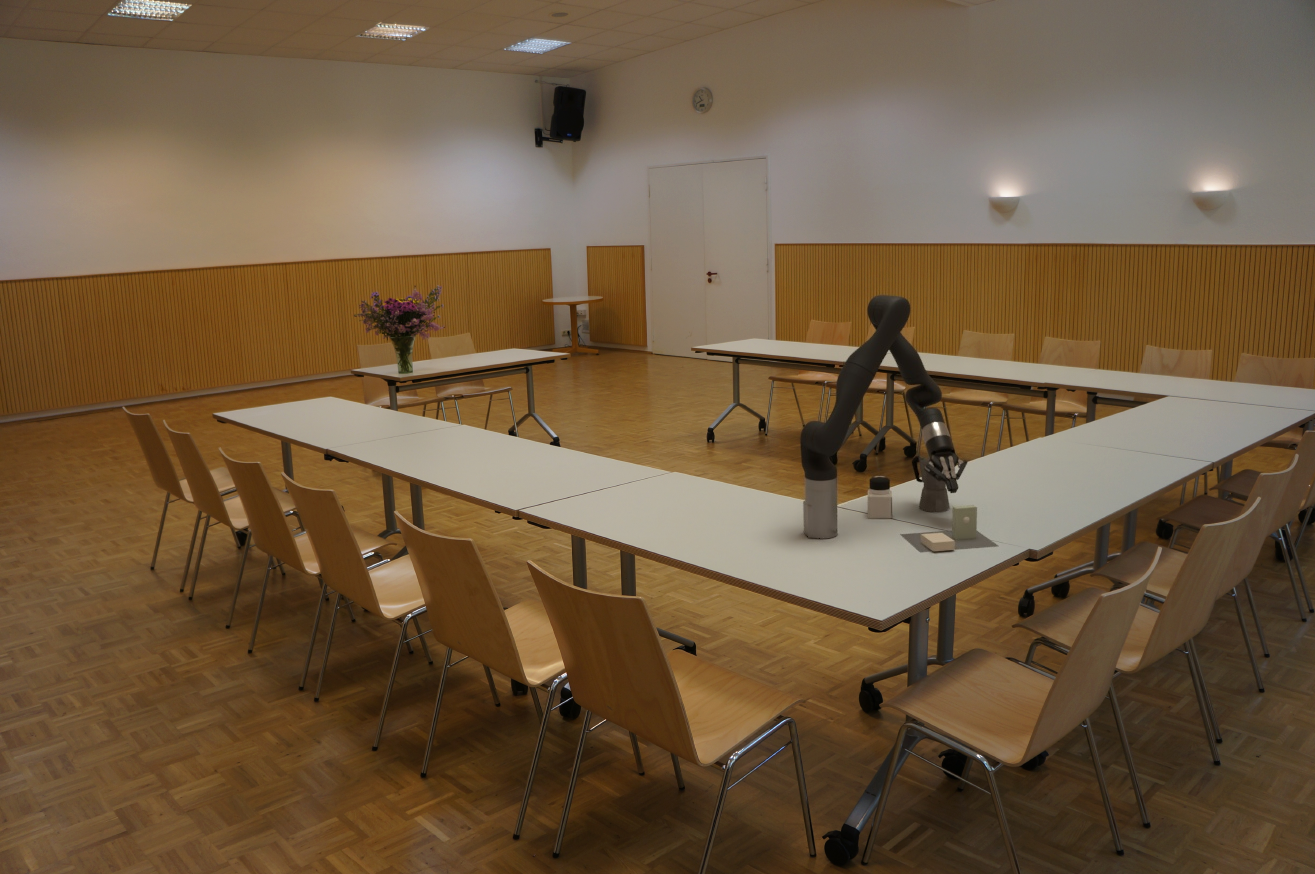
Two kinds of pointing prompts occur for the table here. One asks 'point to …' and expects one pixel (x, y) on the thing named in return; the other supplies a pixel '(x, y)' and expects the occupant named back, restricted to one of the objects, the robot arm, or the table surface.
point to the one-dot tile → (964, 522)
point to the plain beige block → (937, 542)
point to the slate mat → (959, 544)
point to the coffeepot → (930, 489)
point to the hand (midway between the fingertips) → (954, 491)
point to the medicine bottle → (879, 498)
